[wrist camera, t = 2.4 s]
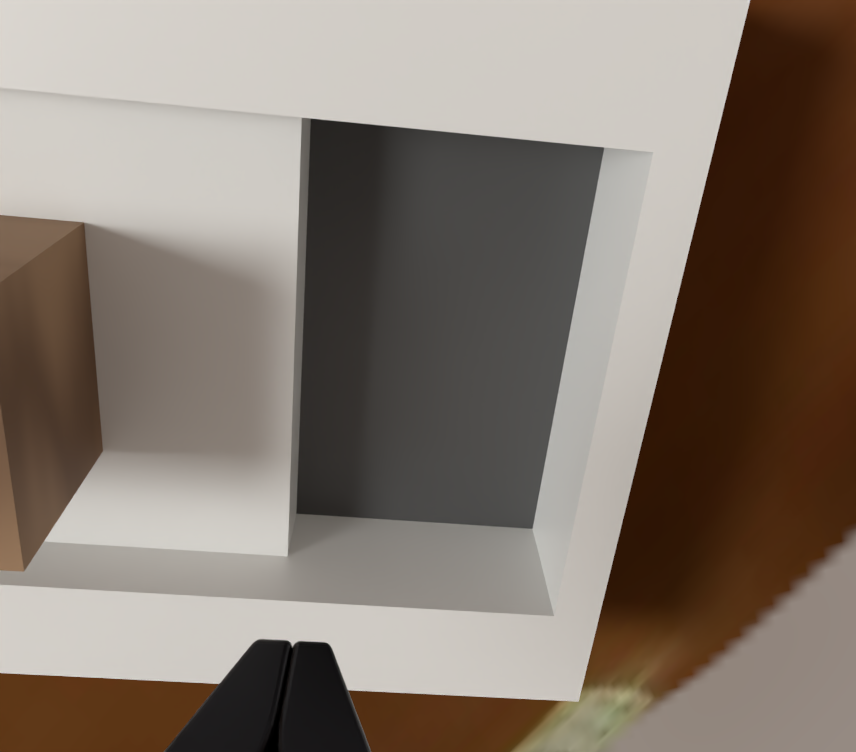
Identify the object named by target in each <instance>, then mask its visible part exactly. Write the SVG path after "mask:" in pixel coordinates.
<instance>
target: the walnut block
mask: <svg viewBox="0 0 856 752" xmlns="http://www.w3.org/2000/svg"><path fill="white" fill-rule="evenodd" d="M102 452H103V445H102V433H101V421H100V408H99V396H98V384H97V372H96V360H95V348H94V336H93V324H92V312H91V300H90V288H89V276H88V264H87V251H86V239H85V227H84V222H74V221H63V220H52V219H40V218H29V217H18V216H6V215H0V570H2V571H20V572H24V571H25V570H26V568H27V567H28V565H29V563H30V562H31V560H32V559H33V557H34V556H35V554H36V553H37V551H38V550H39V548H40V547H41V545H42V544H43V542H44V541H45V539H46V537H47V536H48V534H49V533H50V531H51V530H52V528H53V527H54V525H55V524H56V522H57V521H58V519H59V518H60V516H61V515H62V513H63V512H64V510H65V508H66V507H67V505H68V504H69V502H70V501H71V499H72V498H73V496H74V495H75V493H76V492H77V490H78V489H79V487H80V486H81V484H82V482H83V481H84V479H85V478H86V476H87V475H88V473H89V472H90V470H91V469H92V467H93V466H94V464H95V463H96V461H97V460H98V458H99V457H100V455H101V453H102Z"/></svg>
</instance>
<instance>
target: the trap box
mask: <svg viewBox="0 0 856 752" xmlns="http://www.w3.org/2000/svg"><path fill="white" fill-rule="evenodd" d="M749 3H750V0H0V215H6V216H18V217H29V218H40V219H52V220H63V221H74V222H84V227H85V239H86V251H87V264H88V276H89V288H90V300H91V312H92V324H93V336H94V348H95V360H96V372H97V384H98V396H99V408H100V421H101V433H102V445H103V452H102V453H101V455H100V457H99V458H98V460H97V461H96V463H95V464H94V466H93V467H92V469H91V470H90V472H89V473H88V475H87V476H86V478H85V479H84V481H83V482H82V484H81V486H80V487H79V489H78V490H77V492H76V493H75V495H74V496H73V498H72V499H71V501H70V502H69V504H68V505H67V507H66V508H65V510H64V512H63V513H62V515H61V516H60V518H59V519H58V521H57V522H56V524H55V525H54V527H53V528H52V530H51V531H50V533H49V534H48V536H47V537H46V539H45V541H44V542H43V544H42V545H41V547H40V548H39V550H38V551H37V553H36V554H35V556H34V557H33V559H32V560H31V562H30V563H29V565H28V567H27V568H26V570H25V571H24V572H20V571H2V570H0V673H12V674H32V675H53V676H73V677H93V678H113V679H133V680H154V681H174V682H194V683H214V684H220V682H221V681H222V680H223V679H224V678H225V676H226V675H227V674H228V673H229V671H230V670H231V669H232V668H233V667H234V665H235V664H236V663H237V662H238V660H239V659H240V658H241V657H242V655H243V654H244V653H245V652H246V651H247V649H248V648H249V647H250V646H251V645H252V643H253V642H255V641H256V640H258V639H272V640H287V641H289V642H291V644H292V648H293V645H294V644H295V643H296V642H297V641H310V642H325V643H328V644H329V645H330V646H331V648H332V650H333V652H334V655H335V657H336V660H337V663H338V665H339V668H340V671H341V673H342V676H343V679H344V681H345V684H346V686H347V689H348V690H356V691H376V692H396V693H417V694H437V695H457V696H477V697H497V698H518V699H538V700H558V701H578V702H579V698H580V693H581V689H582V685H583V681H584V677H585V673H586V669H587V665H588V661H589V657H590V653H591V648H592V644H593V640H594V636H595V632H596V628H597V624H598V620H599V616H600V612H601V608H602V604H603V599H604V595H605V591H606V587H607V583H608V579H609V575H610V571H611V567H612V563H613V559H614V554H615V550H616V546H617V542H618V538H619V534H620V530H621V526H622V522H623V518H624V514H625V510H626V505H627V501H628V497H629V493H630V489H631V485H632V481H633V477H634V473H635V469H636V465H637V461H638V456H639V452H640V448H641V444H642V440H643V436H644V432H645V428H646V424H647V420H648V416H649V411H650V407H651V403H652V399H653V395H654V391H655V387H656V383H657V379H658V375H659V371H660V367H661V362H662V358H663V354H664V350H665V346H666V342H667V338H668V334H669V330H670V326H671V322H672V318H673V313H674V309H675V305H676V301H677V297H678V293H679V289H680V285H681V281H682V277H683V273H684V268H685V264H686V260H687V256H688V252H689V248H690V244H691V240H692V236H693V232H694V228H695V224H696V219H697V215H698V211H699V207H700V203H701V199H702V195H703V191H704V187H705V183H706V179H707V174H708V170H709V166H710V162H711V158H712V154H713V150H714V146H715V142H716V138H717V134H718V130H719V125H720V121H721V117H722V113H723V109H724V105H725V101H726V97H727V93H728V89H729V85H730V81H731V76H732V72H733V68H734V64H735V60H736V56H737V52H738V48H739V44H740V40H741V36H742V31H743V27H744V23H745V19H746V15H747V11H748V7H749Z"/></svg>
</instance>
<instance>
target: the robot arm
mask: <svg viewBox="0 0 856 752" xmlns="http://www.w3.org/2000/svg"><path fill="white" fill-rule="evenodd" d="M164 752H371V750H370V747H369V745H368V742H367V739H366V737H365V734H364V731H363V729H362V726H361V723H360V721H359V718H358V716H357V713H356V710H355V708H354V705H353V702H352V700H351V697H350V694H349V692H348V689H347V686H346V684H345V681H344V679H343V676H342V673H341V671H340V668H339V665H338V663H337V660H336V657H335V655H334V652H333V650H332V648H331V646H330V645H329V644H328V643H325V642H310V641H297V642H296V643H295V644H294V645H293V648H292V644H291V642H289V641H287V640H272V639H258V640H256V641H255V642H253V643H252V645H251V646H250V647H249V648H248V649H247V651H246V652H245V653H244V654H243V655H242V657H241V658H240V659H239V660H238V662H237V663H236V664H235V665H234V667H233V668H232V669H231V670H230V671H229V673H228V674H227V675H226V676H225V678H224V679H223V680H222V681H221V682H220V684H219V685H218V686H217V687H216V689H215V690H214V691H213V692H212V694H211V695H210V696H209V697H208V698H207V700H206V701H205V702H204V703H203V705H202V706H201V707H200V708H199V709H198V711H197V712H196V713H195V714H194V716H193V717H192V718H191V719H190V721H189V722H188V723H187V724H186V725H185V727H184V728H183V729H182V730H181V732H180V733H179V734H178V735H177V736H176V738H175V739H174V740H173V741H172V743H171V744H170V745H169V746H168V748H167V749H166V750H165V751H164Z"/></svg>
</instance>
